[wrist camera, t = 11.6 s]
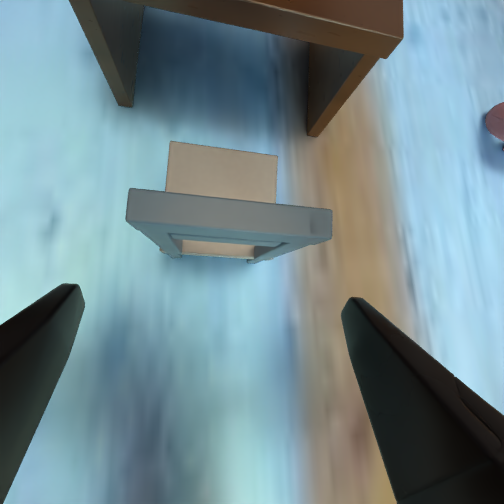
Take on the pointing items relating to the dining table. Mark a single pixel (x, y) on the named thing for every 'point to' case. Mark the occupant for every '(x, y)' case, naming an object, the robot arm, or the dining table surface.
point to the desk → (266, 20)
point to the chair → (223, 207)
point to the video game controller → (496, 121)
